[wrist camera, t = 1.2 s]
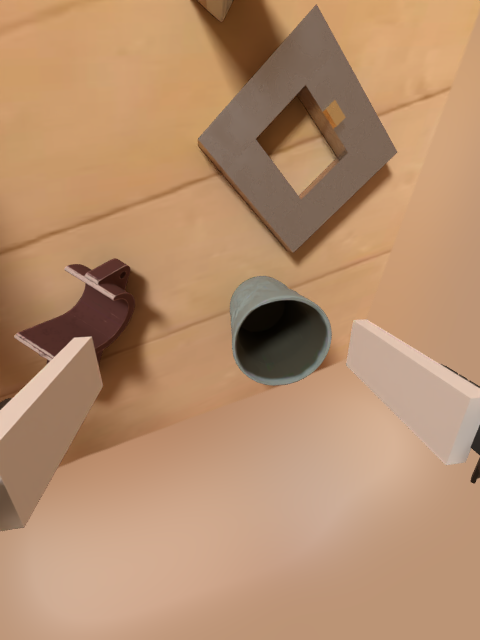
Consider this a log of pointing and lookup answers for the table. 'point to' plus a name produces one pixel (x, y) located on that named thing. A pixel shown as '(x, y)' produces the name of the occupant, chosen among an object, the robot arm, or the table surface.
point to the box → (217, 7)
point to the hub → (327, 112)
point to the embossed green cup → (277, 332)
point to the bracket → (87, 312)
